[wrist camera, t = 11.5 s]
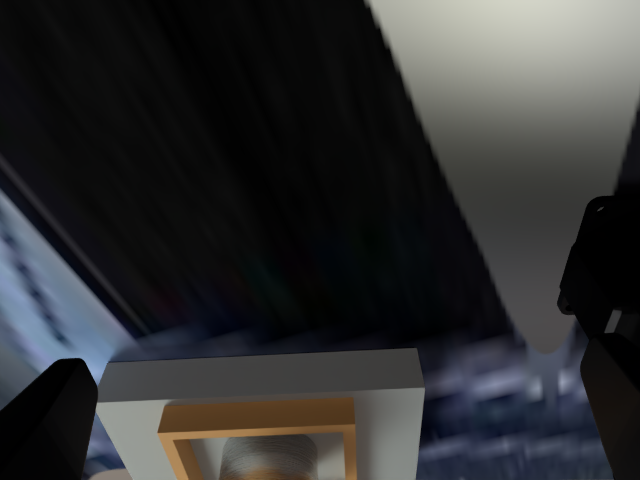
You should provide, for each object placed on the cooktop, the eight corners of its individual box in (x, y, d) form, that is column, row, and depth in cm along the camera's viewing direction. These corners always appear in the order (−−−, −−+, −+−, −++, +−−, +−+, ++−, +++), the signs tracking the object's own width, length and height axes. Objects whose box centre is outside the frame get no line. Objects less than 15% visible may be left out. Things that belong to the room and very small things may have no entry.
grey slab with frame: (416, 347, 27) (431, 414, 24) (407, 455, 33) (417, 519, 30) (107, 362, 27) (80, 430, 24) (156, 466, 34) (140, 531, 30)
